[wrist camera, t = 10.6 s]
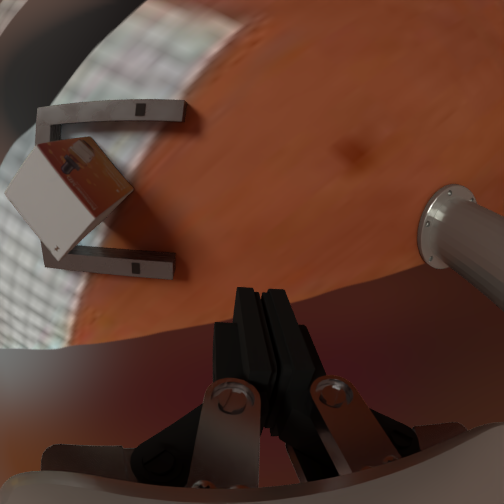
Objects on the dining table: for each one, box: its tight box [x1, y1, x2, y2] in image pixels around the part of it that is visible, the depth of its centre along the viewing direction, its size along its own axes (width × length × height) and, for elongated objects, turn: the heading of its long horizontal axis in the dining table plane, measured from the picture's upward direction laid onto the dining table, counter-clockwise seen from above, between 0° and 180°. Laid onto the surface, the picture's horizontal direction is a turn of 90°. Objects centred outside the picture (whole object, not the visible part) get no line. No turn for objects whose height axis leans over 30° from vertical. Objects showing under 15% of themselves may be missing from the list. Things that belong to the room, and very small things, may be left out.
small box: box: [5, 137, 134, 261], centre depth 22 cm, size 8×6×10 cm
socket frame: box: [35, 99, 187, 280], centre depth 26 cm, size 16×18×3 cm
